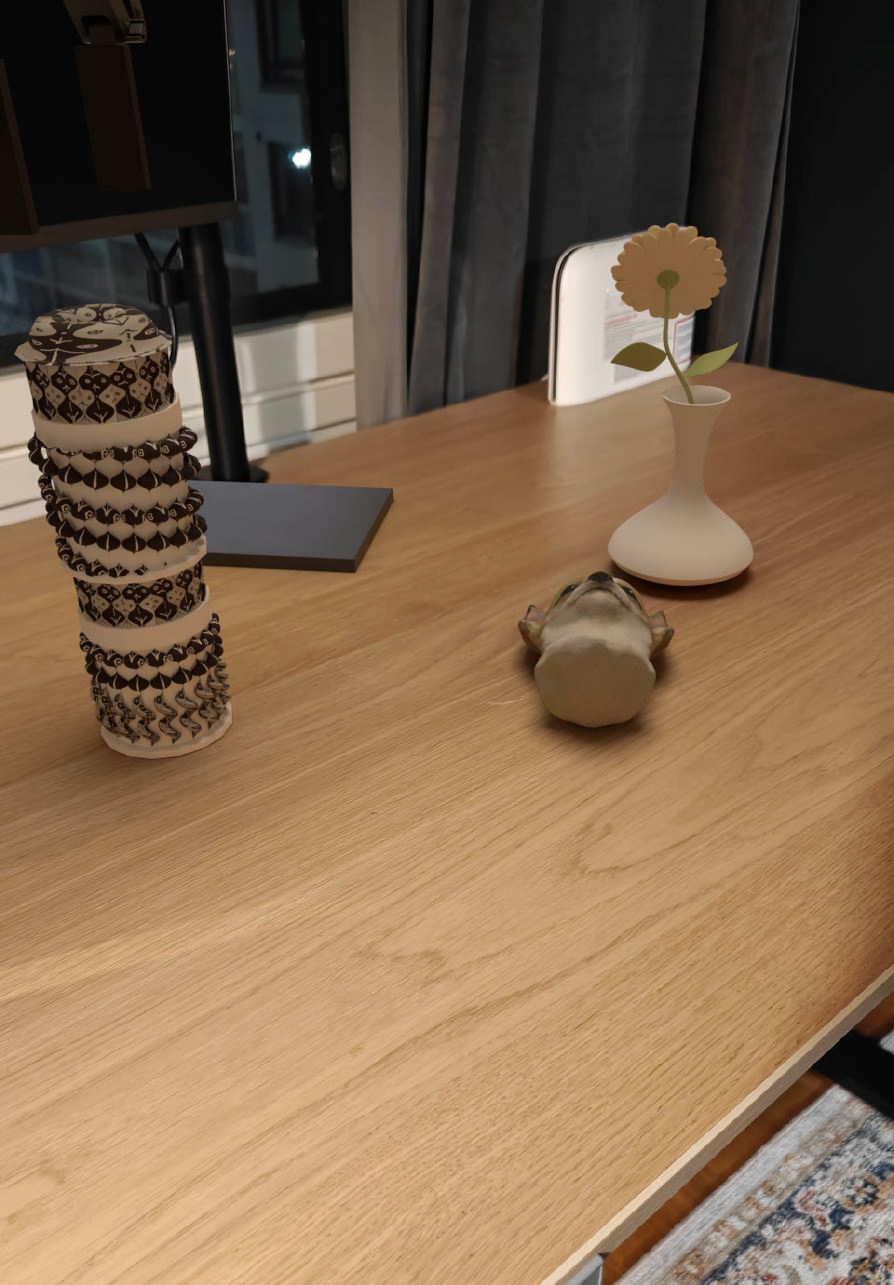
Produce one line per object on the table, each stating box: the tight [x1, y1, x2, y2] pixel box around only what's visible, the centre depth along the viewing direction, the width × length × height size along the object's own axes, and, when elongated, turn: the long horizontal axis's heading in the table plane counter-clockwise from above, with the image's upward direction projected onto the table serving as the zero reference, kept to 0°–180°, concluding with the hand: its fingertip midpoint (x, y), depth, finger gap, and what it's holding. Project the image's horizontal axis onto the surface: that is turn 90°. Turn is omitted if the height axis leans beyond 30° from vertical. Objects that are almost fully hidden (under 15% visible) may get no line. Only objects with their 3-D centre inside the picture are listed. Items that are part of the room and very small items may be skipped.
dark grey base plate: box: [187, 479, 395, 574], centre depth 99 cm, size 23×16×3 cm
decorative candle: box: [14, 303, 234, 760], centre depth 66 cm, size 9×9×25 cm
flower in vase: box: [607, 222, 754, 587], centre depth 84 cm, size 13×11×25 cm
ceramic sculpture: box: [517, 570, 675, 729], centre depth 74 cm, size 11×9×15 cm
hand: (72, 210), depth 56 cm, fingers open, 13 cm apart
